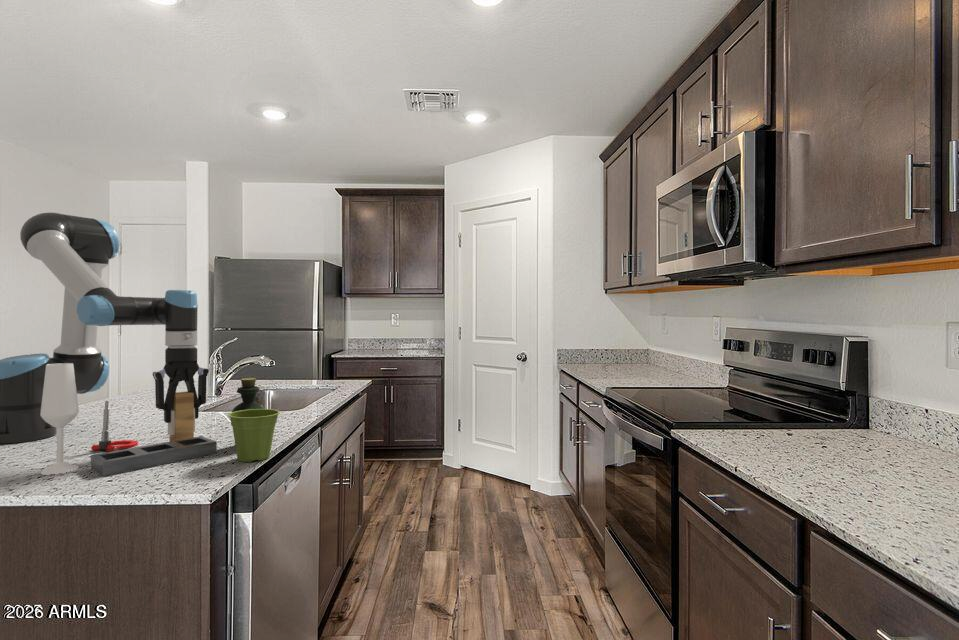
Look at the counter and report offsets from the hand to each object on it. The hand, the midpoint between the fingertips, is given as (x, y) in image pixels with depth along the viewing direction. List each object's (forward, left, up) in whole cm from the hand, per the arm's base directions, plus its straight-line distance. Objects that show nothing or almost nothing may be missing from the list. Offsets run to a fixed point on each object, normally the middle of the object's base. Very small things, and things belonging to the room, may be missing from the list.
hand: (181, 432), depth 138 cm
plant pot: (+28, +6, -3) cm, 29 cm away
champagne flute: (+4, -27, -3) cm, 27 cm away
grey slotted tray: (+12, -10, -3) cm, 16 cm away
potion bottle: (+15, +11, -3) cm, 19 cm away
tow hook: (-10, -12, -4) cm, 16 cm away
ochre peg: (0, 0, -3) cm, 3 cm away
